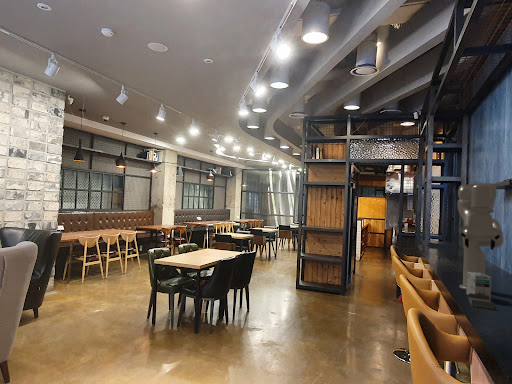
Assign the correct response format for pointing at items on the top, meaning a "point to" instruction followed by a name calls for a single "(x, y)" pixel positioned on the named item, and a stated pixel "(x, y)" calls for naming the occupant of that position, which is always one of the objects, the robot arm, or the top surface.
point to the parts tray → (480, 301)
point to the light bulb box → (478, 284)
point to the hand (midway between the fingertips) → (479, 248)
